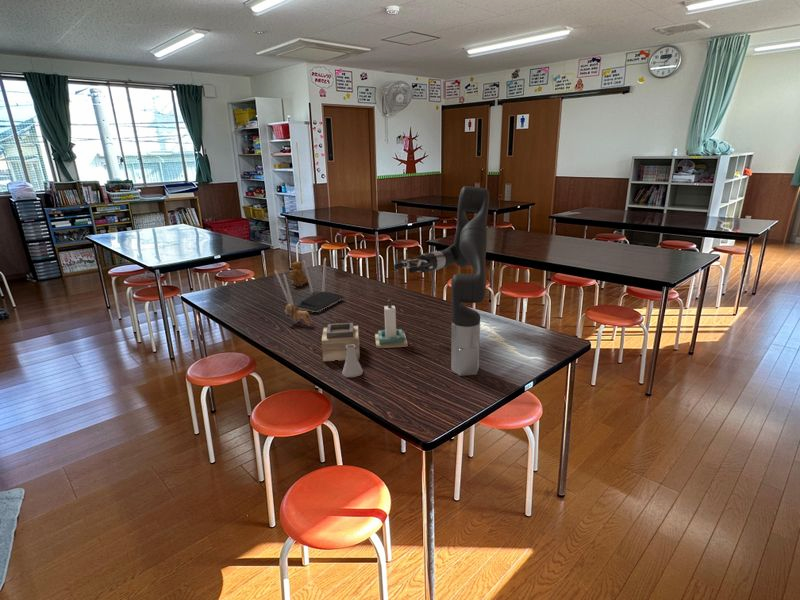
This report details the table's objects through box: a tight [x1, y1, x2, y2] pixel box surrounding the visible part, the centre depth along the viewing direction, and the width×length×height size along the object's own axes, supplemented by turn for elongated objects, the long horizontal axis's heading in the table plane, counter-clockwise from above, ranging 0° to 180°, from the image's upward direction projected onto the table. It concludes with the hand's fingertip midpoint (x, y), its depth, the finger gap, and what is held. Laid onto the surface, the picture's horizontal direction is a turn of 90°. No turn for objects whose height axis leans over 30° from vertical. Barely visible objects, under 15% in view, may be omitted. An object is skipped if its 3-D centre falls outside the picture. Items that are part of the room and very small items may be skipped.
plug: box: [383, 299, 397, 338], centre depth 174 cm, size 4×4×16 cm
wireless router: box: [274, 257, 344, 313], centre depth 220 cm, size 34×23×20 cm
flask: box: [341, 344, 364, 378], centre depth 150 cm, size 7×7×10 cm
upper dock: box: [321, 322, 361, 362], centre depth 166 cm, size 13×13×10 cm
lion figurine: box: [284, 304, 316, 327], centre depth 195 cm, size 15×5×9 cm, turn 68°
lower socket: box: [374, 328, 409, 349], centre depth 176 cm, size 12×12×3 cm
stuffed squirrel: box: [288, 260, 309, 287], centre depth 256 cm, size 10×14×13 cm
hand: (401, 268), depth 173 cm, fingers open, 8 cm apart
